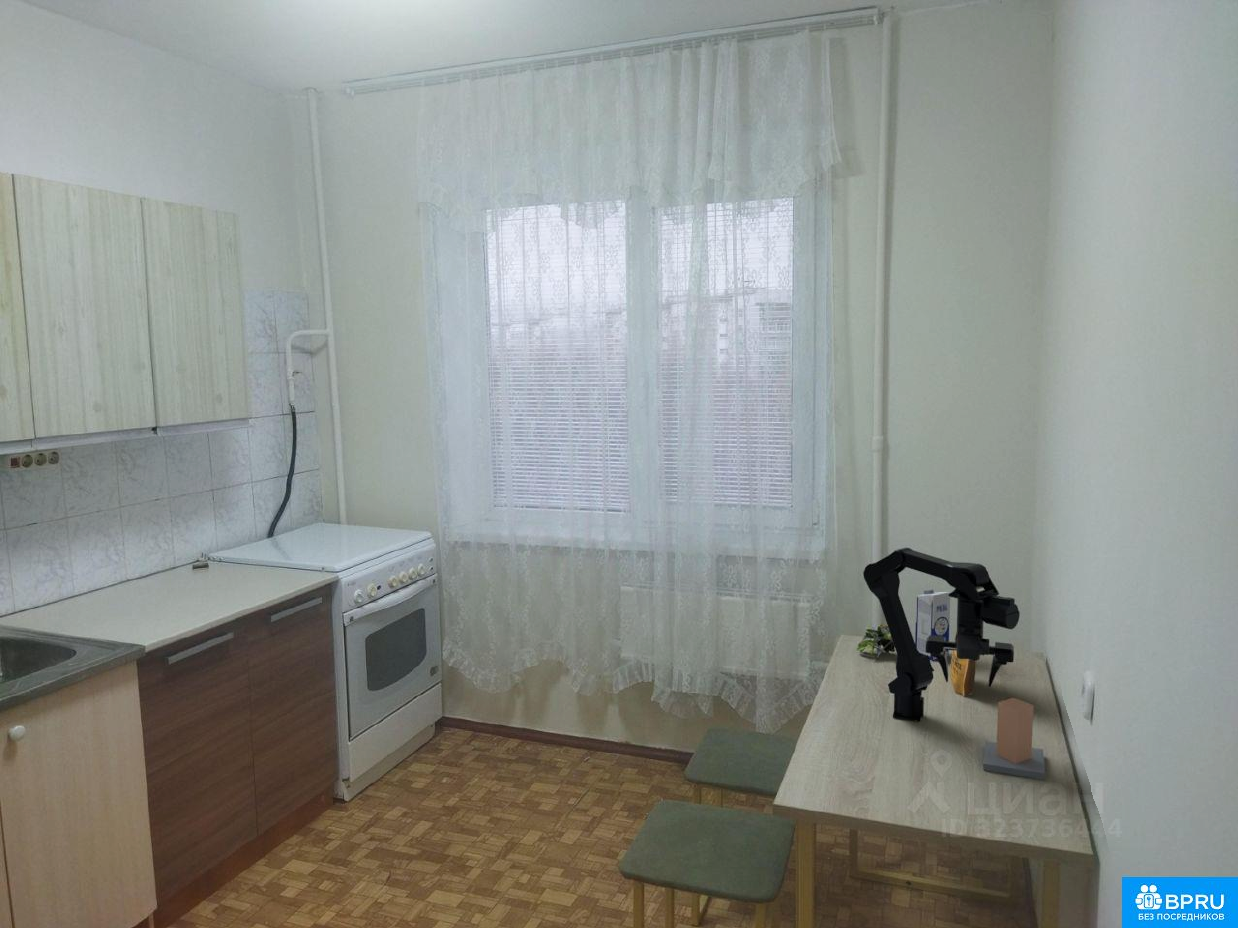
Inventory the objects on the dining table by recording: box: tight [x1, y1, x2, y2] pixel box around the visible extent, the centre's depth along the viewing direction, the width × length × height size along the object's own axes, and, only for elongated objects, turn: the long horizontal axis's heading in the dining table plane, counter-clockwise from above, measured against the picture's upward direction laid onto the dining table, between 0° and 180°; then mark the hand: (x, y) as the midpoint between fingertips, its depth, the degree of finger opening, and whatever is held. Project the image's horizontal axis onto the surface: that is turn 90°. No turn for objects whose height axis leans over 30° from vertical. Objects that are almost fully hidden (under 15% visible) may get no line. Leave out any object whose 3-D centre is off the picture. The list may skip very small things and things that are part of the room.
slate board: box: [982, 740, 1046, 781], centre depth 189 cm, size 12×12×2 cm
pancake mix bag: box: [949, 589, 980, 697], centre depth 232 cm, size 7×19×28 cm, turn 165°
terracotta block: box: [996, 697, 1034, 764], centre depth 188 cm, size 5×5×12 cm
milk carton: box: [914, 589, 951, 662], centre depth 257 cm, size 7×7×20 cm
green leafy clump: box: [856, 624, 896, 661], centre depth 258 cm, size 11×11×12 cm
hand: (968, 683), depth 201 cm, fingers open, 9 cm apart
